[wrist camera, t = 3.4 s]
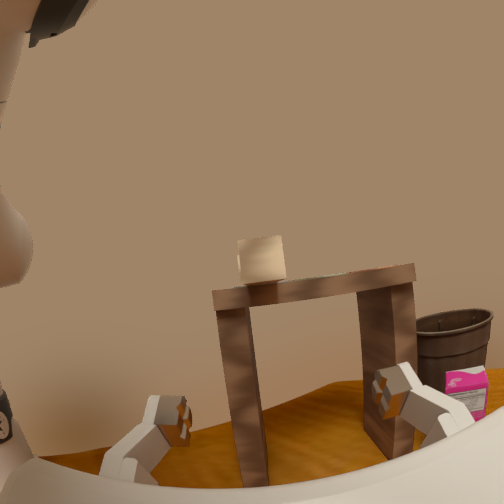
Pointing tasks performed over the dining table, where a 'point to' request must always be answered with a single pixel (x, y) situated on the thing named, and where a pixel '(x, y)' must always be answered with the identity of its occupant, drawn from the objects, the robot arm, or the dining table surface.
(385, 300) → the shelf
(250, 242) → the marker stick
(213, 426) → the dining table surface
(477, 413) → the supplement box
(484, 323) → the plant pot
